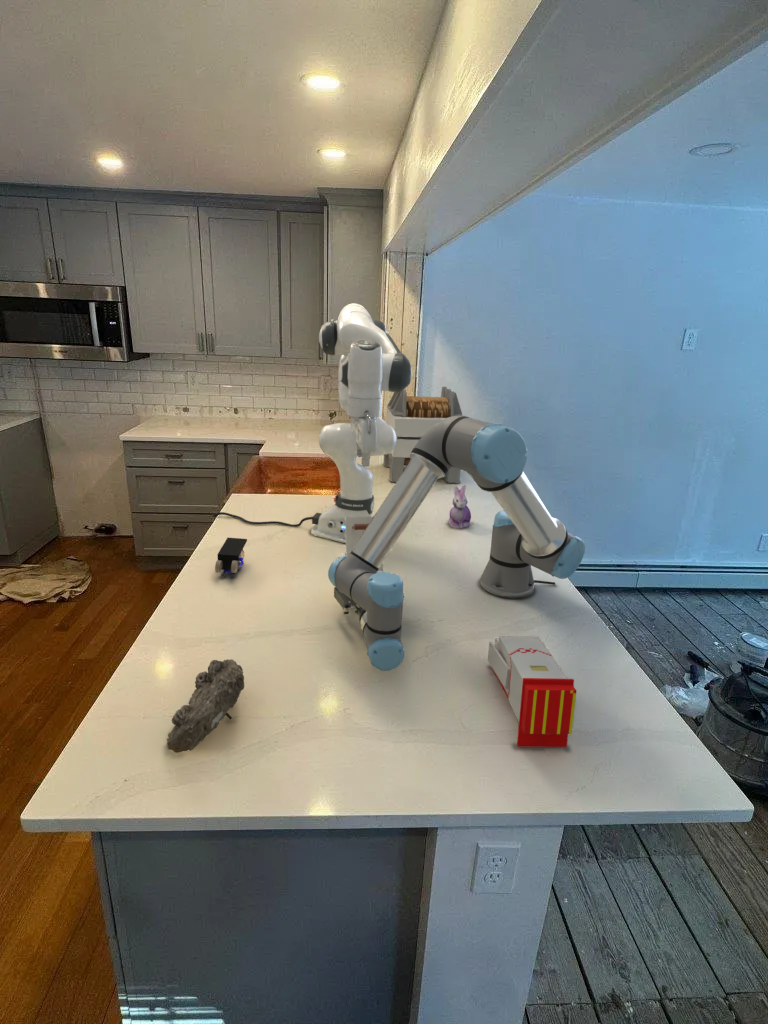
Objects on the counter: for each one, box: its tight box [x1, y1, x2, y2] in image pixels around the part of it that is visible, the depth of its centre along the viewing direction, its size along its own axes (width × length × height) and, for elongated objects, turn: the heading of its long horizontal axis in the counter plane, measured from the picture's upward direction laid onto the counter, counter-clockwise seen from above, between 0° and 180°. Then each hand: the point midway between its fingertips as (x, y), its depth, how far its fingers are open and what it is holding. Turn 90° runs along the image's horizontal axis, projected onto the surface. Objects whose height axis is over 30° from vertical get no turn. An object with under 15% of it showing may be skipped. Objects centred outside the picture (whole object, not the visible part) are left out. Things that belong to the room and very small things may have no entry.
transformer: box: [383, 386, 463, 484], centre depth 268 cm, size 34×33×41 cm
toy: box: [486, 635, 577, 748], centre depth 115 cm, size 12×13×30 cm
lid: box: [345, 515, 384, 572], centre depth 145 cm, size 14×10×8 cm
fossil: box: [166, 658, 245, 754], centre depth 106 cm, size 22×10×15 cm
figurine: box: [448, 484, 472, 529], centre depth 208 cm, size 9×10×15 cm
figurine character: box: [214, 537, 248, 578], centre depth 166 cm, size 7×8×15 cm
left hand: (362, 461), depth 148 cm, fingers open, 8 cm apart
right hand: (362, 577), depth 152 cm, fingers closed on chest, 9 cm apart
